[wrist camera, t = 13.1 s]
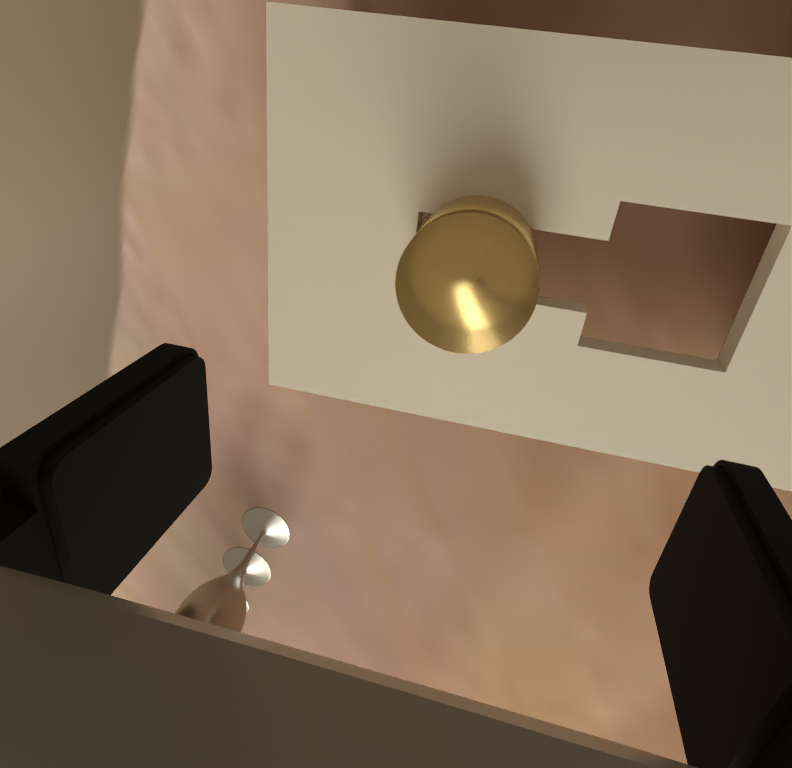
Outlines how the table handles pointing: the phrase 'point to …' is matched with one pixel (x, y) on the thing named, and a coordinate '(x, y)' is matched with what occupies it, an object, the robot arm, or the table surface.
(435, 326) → the brass capped stopper
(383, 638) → the table surface
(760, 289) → the keyhole shelf
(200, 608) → the goblet set
